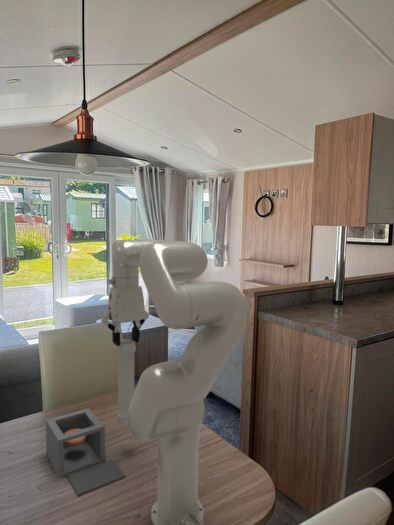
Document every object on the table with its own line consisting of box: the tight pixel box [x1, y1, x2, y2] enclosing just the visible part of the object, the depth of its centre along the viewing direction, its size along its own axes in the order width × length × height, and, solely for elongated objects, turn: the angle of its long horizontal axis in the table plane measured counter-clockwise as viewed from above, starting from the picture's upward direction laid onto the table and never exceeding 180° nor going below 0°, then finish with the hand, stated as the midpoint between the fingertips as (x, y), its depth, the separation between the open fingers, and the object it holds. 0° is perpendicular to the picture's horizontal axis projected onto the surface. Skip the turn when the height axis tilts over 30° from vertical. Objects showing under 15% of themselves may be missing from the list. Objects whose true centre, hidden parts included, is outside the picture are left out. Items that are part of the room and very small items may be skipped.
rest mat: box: [66, 458, 126, 497], centre depth 105 cm, size 9×13×1 cm
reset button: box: [64, 428, 86, 446], centre depth 112 cm, size 6×6×3 cm
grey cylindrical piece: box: [116, 321, 137, 426], centre depth 114 cm, size 6×6×30 cm
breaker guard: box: [45, 407, 106, 480], centre depth 112 cm, size 13×13×11 cm
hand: (126, 342), depth 113 cm, fingers closed on grey cylindrical piece, 5 cm apart
